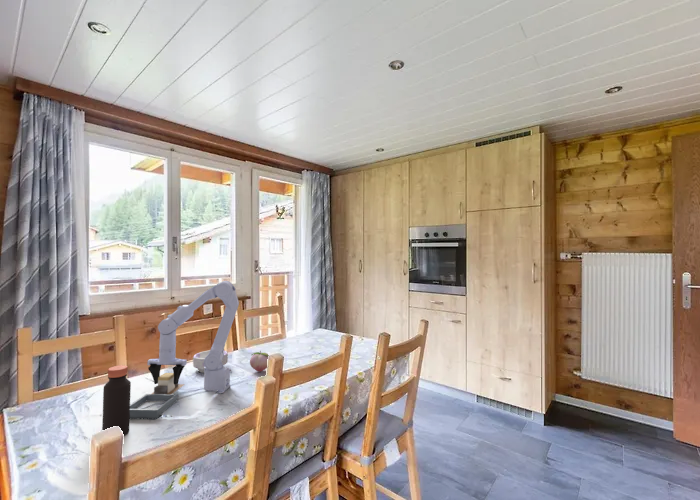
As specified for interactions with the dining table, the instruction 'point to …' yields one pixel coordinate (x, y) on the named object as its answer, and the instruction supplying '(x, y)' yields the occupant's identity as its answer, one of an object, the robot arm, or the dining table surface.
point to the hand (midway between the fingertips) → (166, 383)
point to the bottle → (117, 399)
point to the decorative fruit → (259, 361)
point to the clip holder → (164, 389)
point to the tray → (151, 412)
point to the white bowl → (199, 358)
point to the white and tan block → (167, 381)
